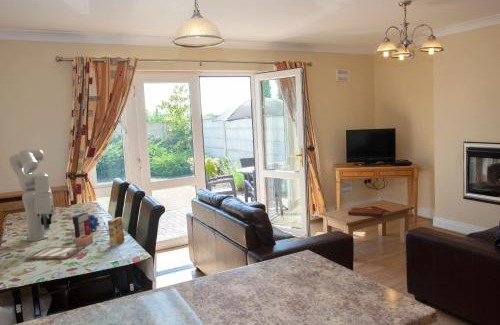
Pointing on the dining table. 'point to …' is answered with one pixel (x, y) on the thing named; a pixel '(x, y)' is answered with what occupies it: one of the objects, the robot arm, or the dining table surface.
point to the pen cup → (84, 240)
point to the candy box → (116, 231)
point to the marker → (45, 222)
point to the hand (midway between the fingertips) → (46, 224)
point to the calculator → (81, 225)
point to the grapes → (92, 222)
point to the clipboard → (55, 253)
